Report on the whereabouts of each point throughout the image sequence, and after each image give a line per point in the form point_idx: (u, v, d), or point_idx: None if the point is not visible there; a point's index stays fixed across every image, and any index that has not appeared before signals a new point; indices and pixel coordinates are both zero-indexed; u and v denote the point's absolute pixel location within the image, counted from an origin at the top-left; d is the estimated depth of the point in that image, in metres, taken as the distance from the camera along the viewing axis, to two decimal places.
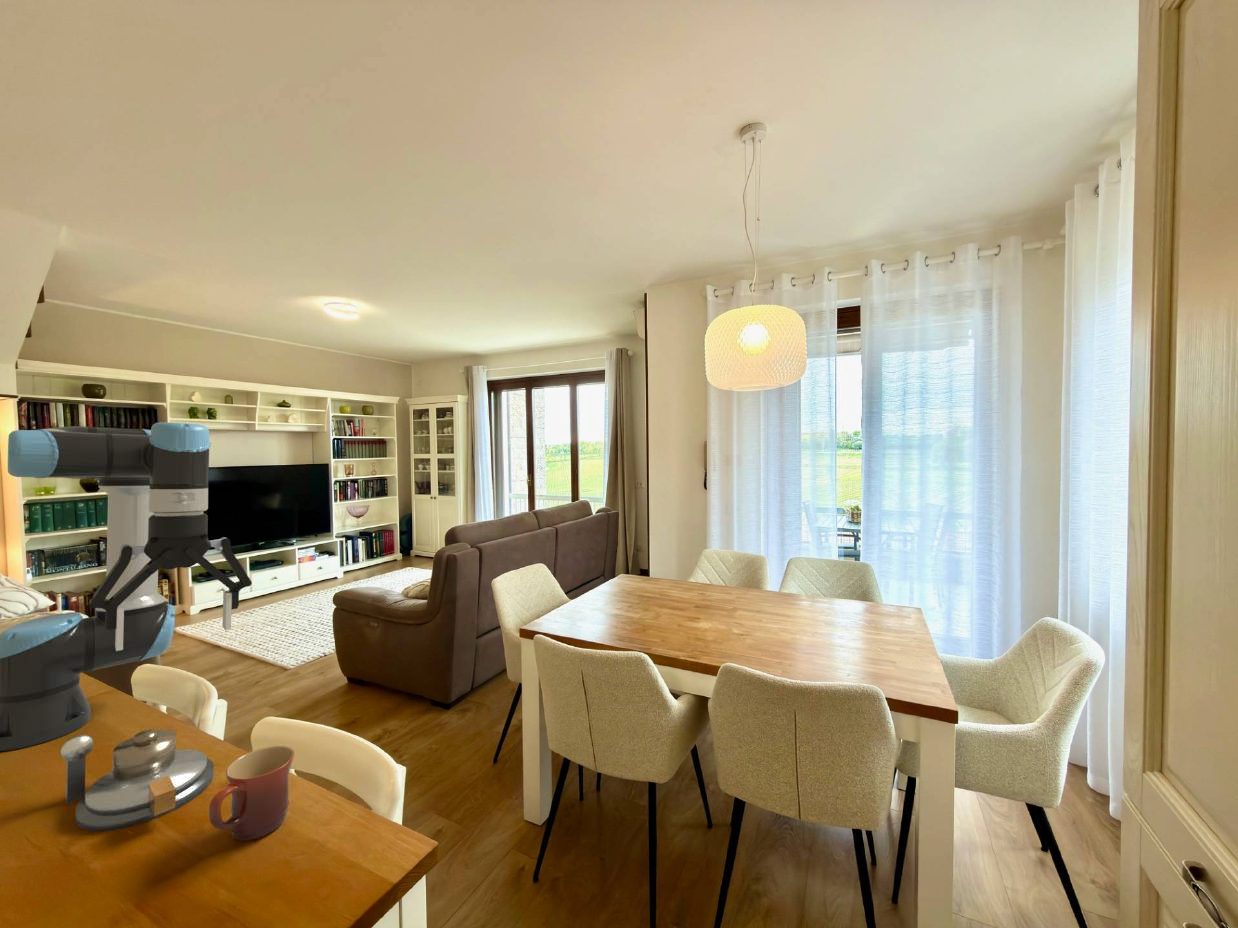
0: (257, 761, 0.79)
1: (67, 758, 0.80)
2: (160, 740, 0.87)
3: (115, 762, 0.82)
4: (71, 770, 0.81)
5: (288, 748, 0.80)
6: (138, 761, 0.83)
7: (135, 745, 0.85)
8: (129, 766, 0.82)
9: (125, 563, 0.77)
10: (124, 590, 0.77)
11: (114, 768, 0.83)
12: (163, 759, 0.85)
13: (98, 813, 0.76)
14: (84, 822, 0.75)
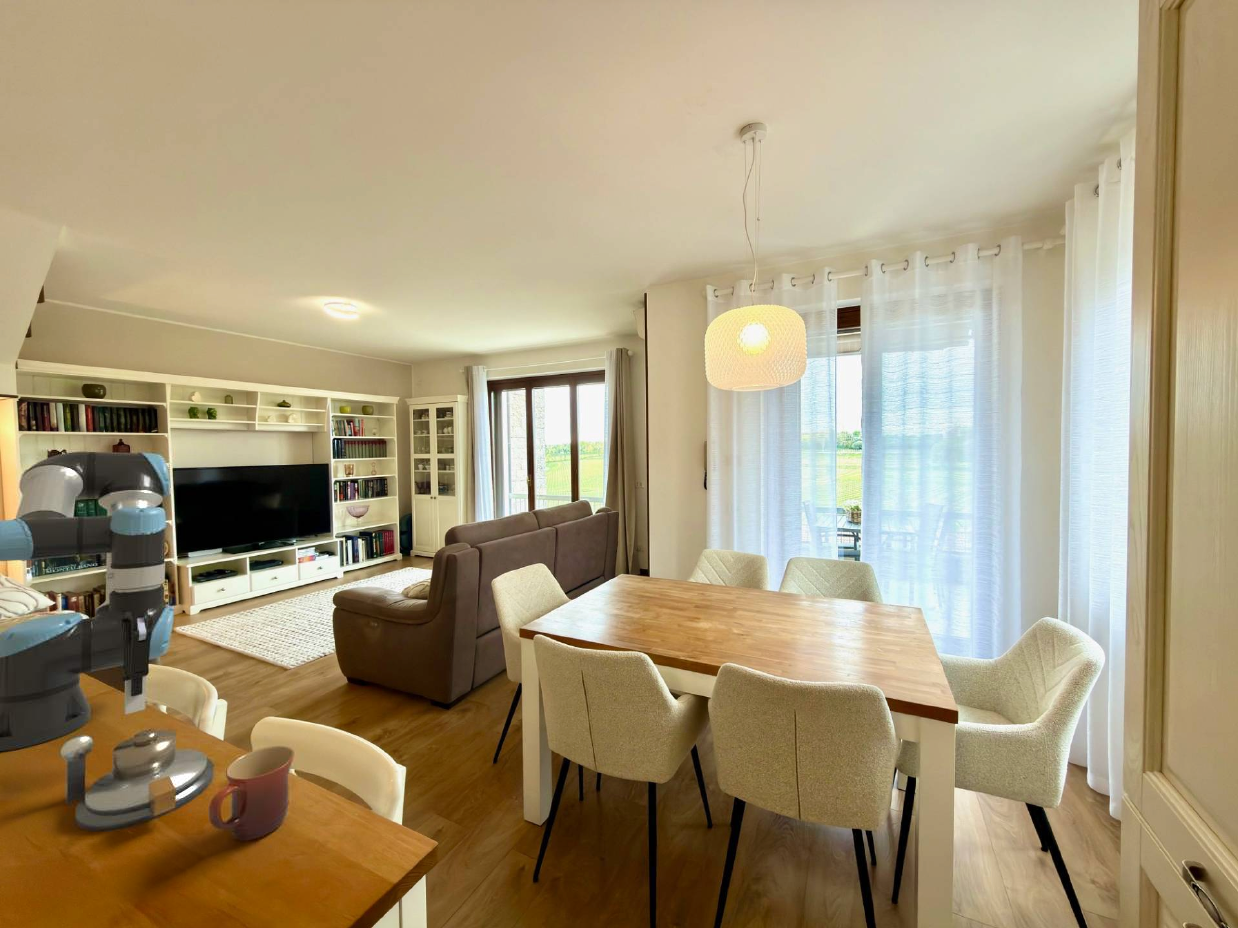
0: (257, 761, 0.79)
1: (67, 758, 0.80)
2: (160, 740, 0.87)
3: (115, 762, 0.82)
4: (71, 770, 0.81)
5: (288, 748, 0.80)
6: (138, 761, 0.83)
7: (135, 745, 0.85)
8: (129, 766, 0.82)
9: None
10: (126, 659, 0.93)
11: (114, 768, 0.83)
12: (163, 759, 0.85)
13: (98, 813, 0.76)
14: (84, 822, 0.75)
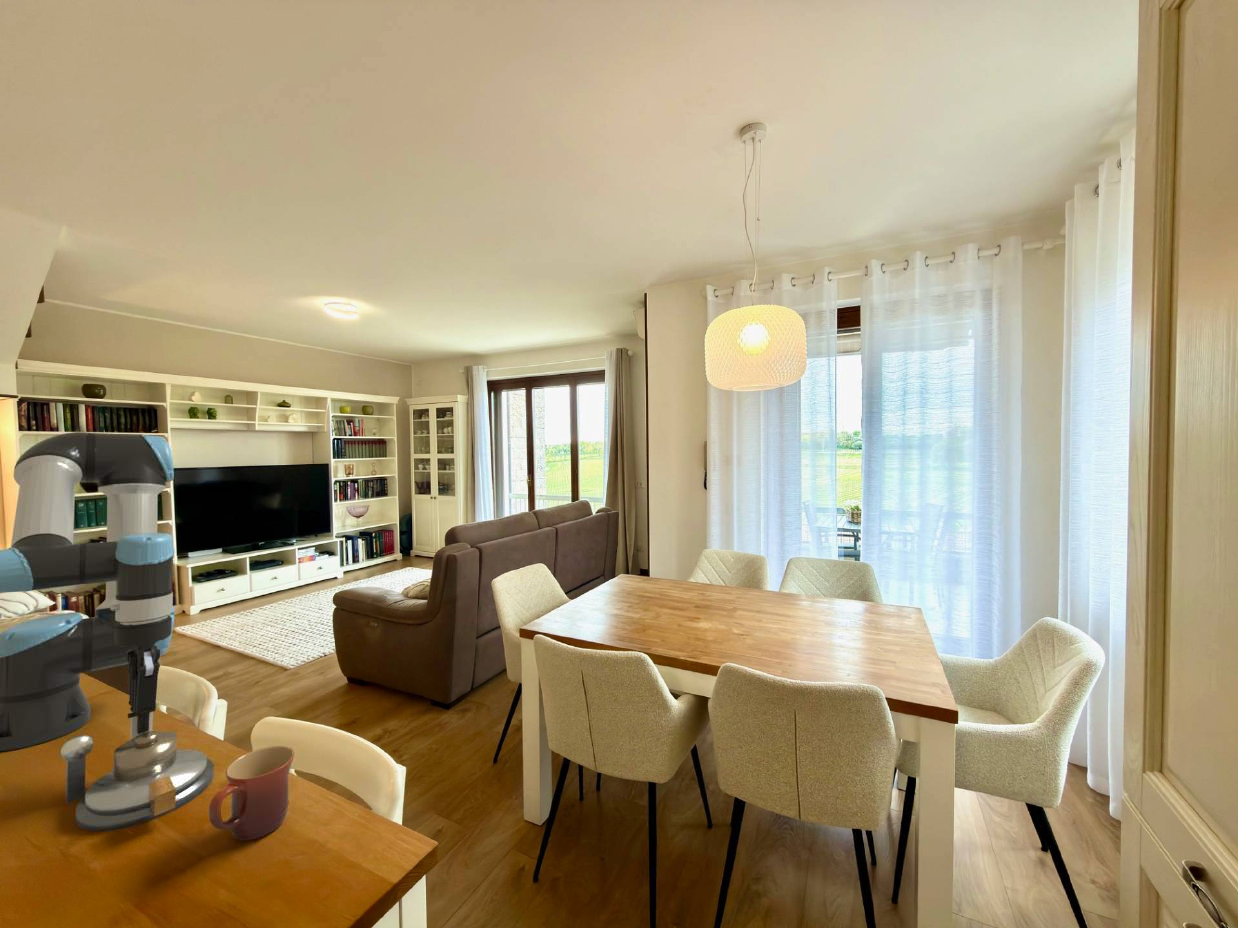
0: (257, 761, 0.79)
1: (67, 758, 0.80)
2: (161, 742, 0.86)
3: (116, 764, 0.82)
4: (71, 770, 0.81)
5: (288, 748, 0.80)
6: (138, 763, 0.82)
7: (136, 747, 0.84)
8: (130, 768, 0.82)
9: None
10: (131, 693, 0.89)
11: (115, 770, 0.82)
12: (164, 761, 0.85)
13: (98, 813, 0.76)
14: (84, 822, 0.75)
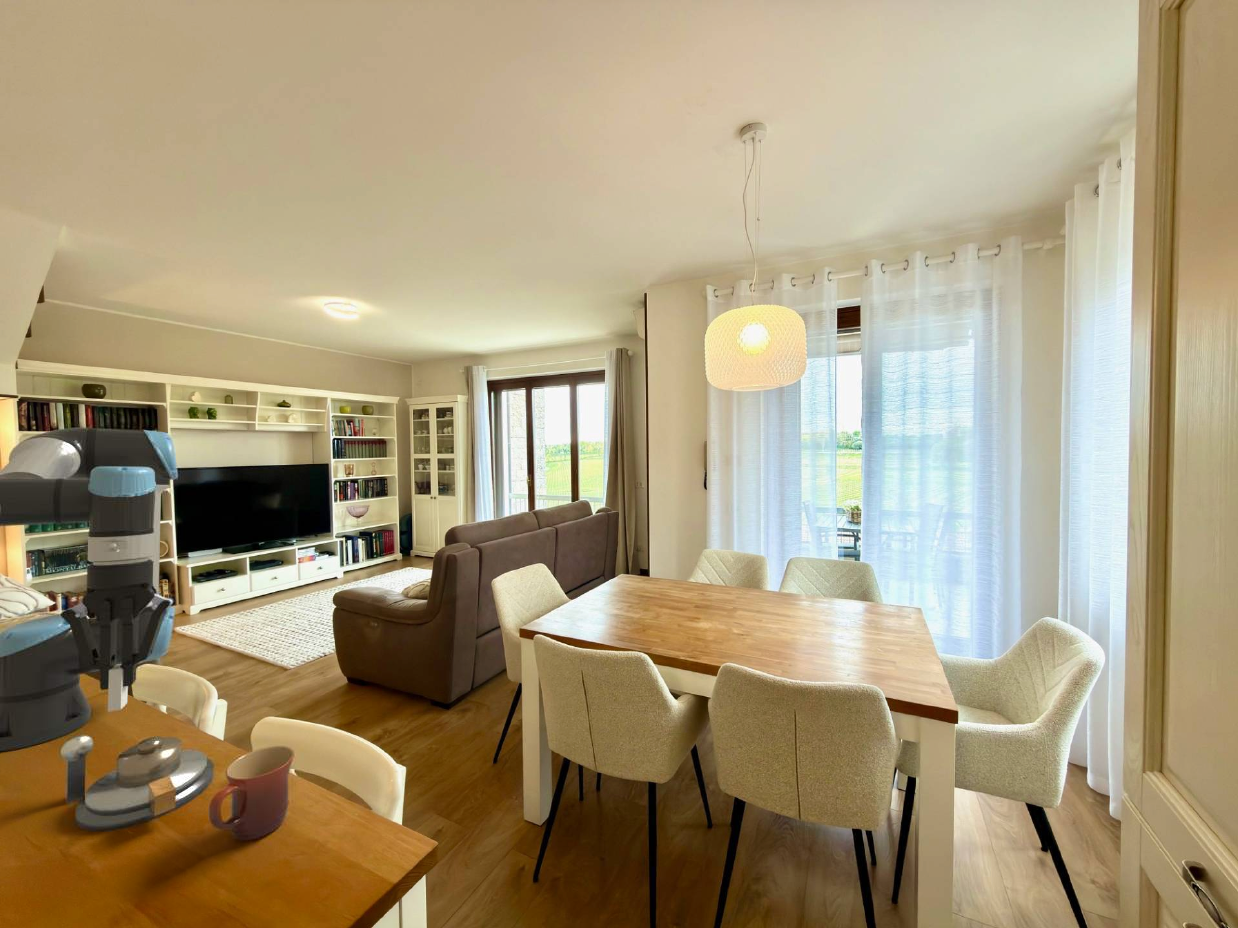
0: (257, 761, 0.79)
1: (67, 758, 0.80)
2: (165, 748, 0.84)
3: (119, 771, 0.80)
4: (71, 770, 0.81)
5: (288, 748, 0.80)
6: (142, 770, 0.81)
7: (139, 753, 0.82)
8: (133, 775, 0.80)
9: (77, 624, 0.75)
10: (101, 650, 0.77)
11: (118, 777, 0.80)
12: (168, 768, 0.83)
13: (98, 813, 0.76)
14: (84, 822, 0.75)
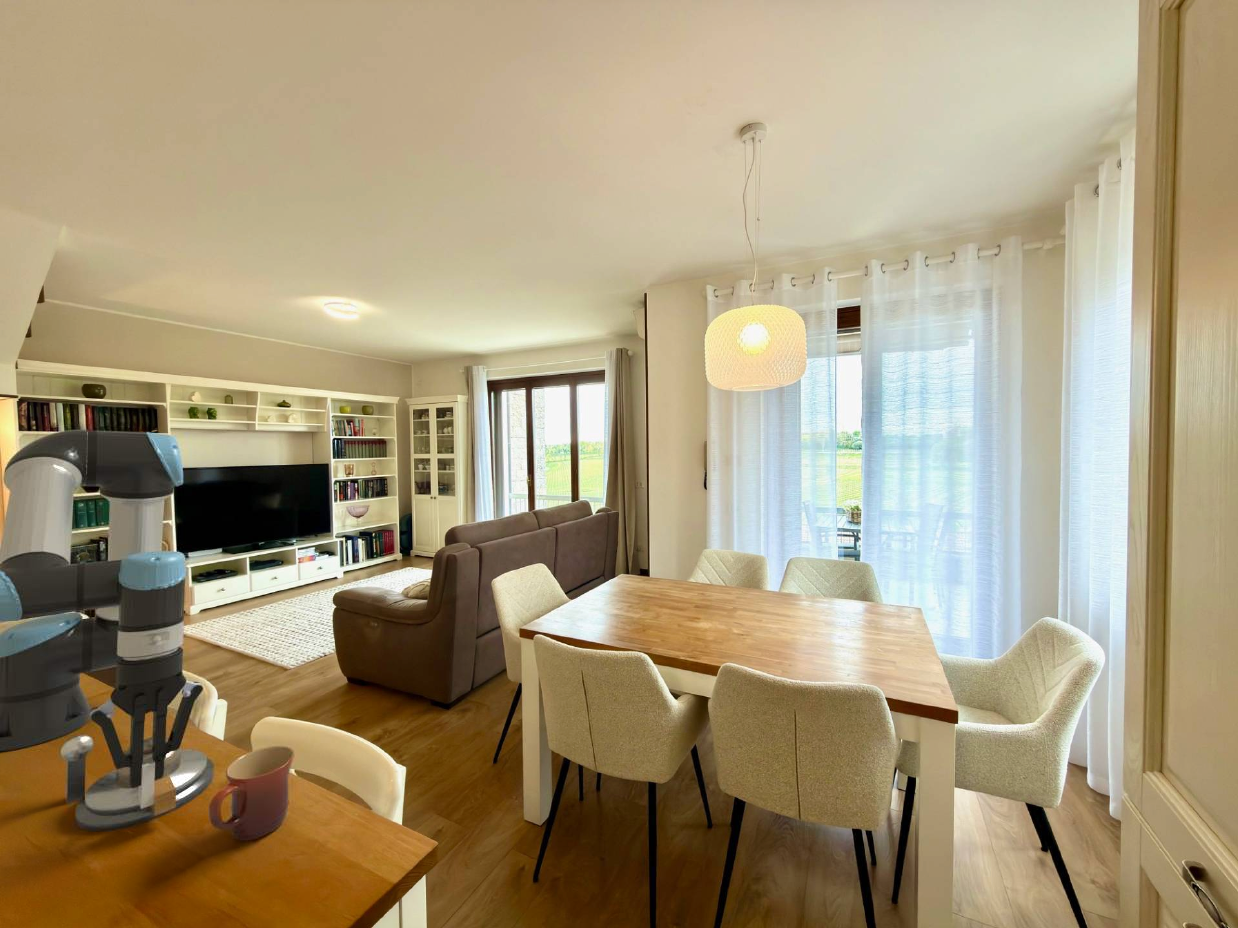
0: (257, 761, 0.79)
1: (67, 758, 0.80)
2: None
3: (119, 771, 0.80)
4: (71, 770, 0.81)
5: (288, 748, 0.80)
6: None
7: None
8: None
9: (109, 724, 0.72)
10: (134, 747, 0.74)
11: (118, 777, 0.80)
12: (168, 768, 0.83)
13: (98, 813, 0.76)
14: (84, 822, 0.75)
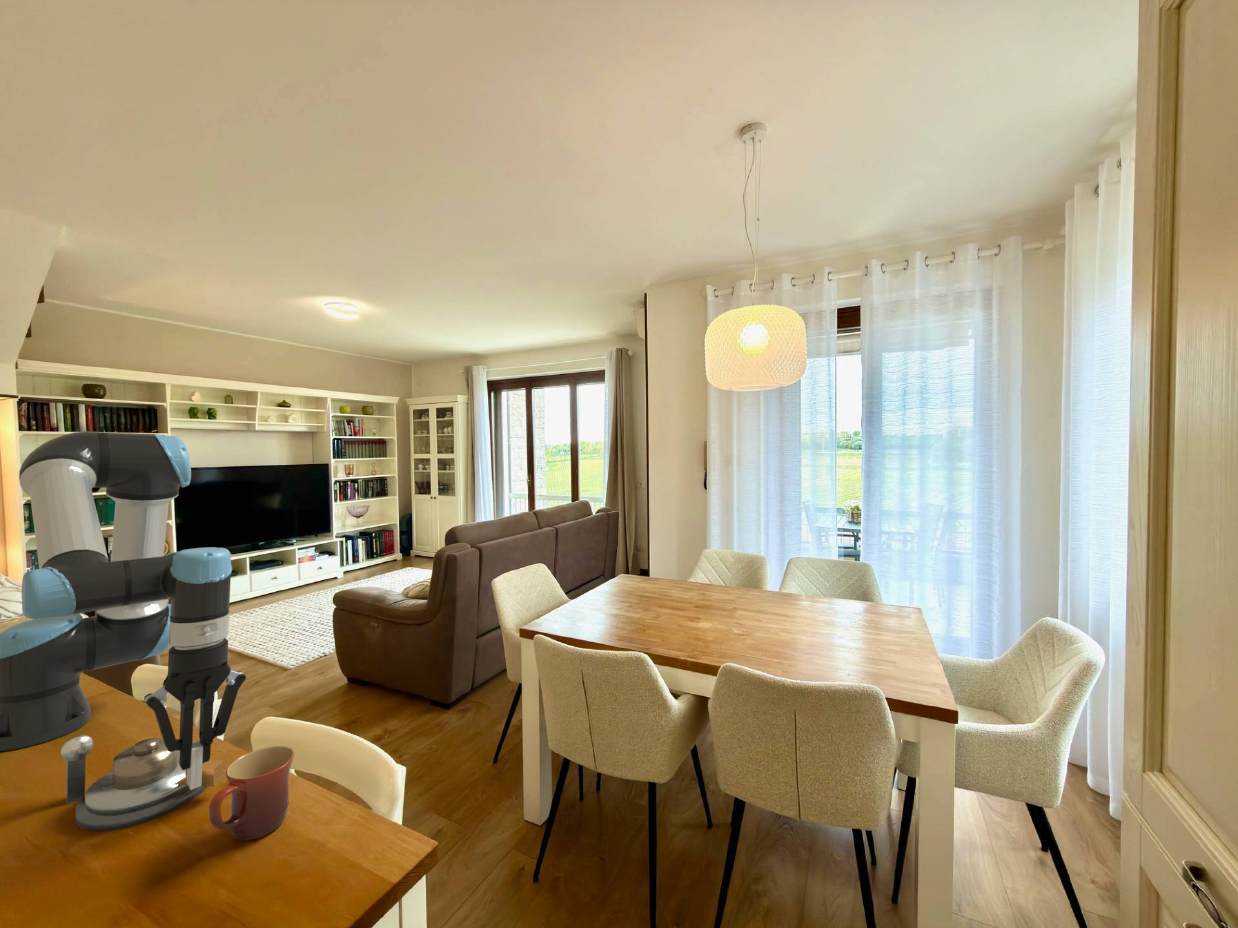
0: (257, 761, 0.79)
1: (67, 758, 0.80)
2: (164, 745, 0.85)
3: (128, 773, 0.80)
4: (71, 770, 0.81)
5: (288, 748, 0.80)
6: (159, 765, 0.82)
7: (141, 754, 0.82)
8: (150, 771, 0.81)
9: (162, 710, 0.76)
10: (184, 732, 0.78)
11: (126, 780, 0.80)
12: (175, 761, 0.85)
13: (133, 809, 0.77)
14: (84, 822, 0.75)
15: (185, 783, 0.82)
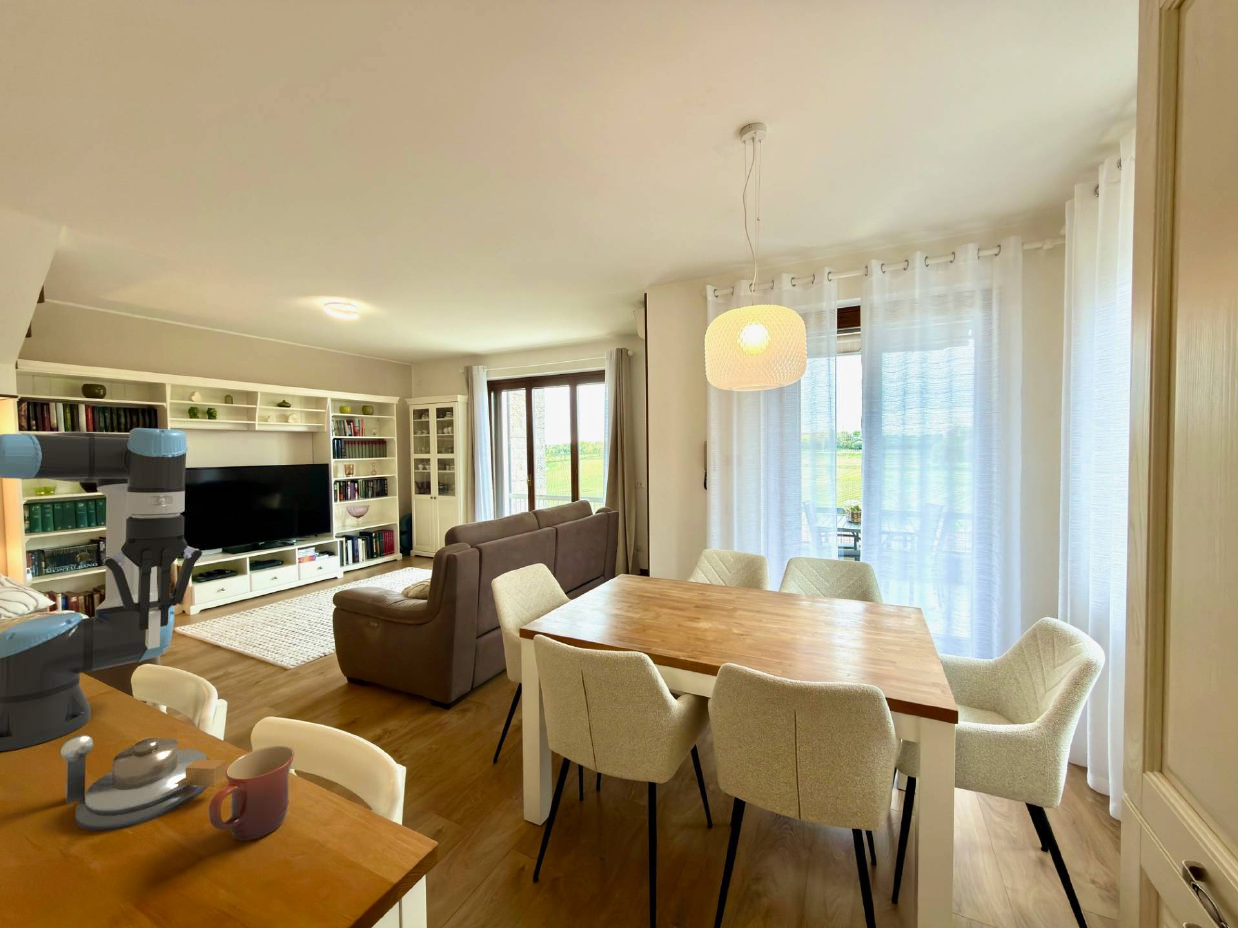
0: (257, 761, 0.79)
1: (67, 758, 0.80)
2: (164, 745, 0.85)
3: (128, 773, 0.80)
4: (71, 770, 0.81)
5: (288, 748, 0.80)
6: (159, 765, 0.82)
7: (141, 754, 0.82)
8: (150, 771, 0.81)
9: (120, 571, 0.82)
10: (141, 595, 0.84)
11: (127, 780, 0.80)
12: (175, 761, 0.85)
13: (133, 809, 0.77)
14: (84, 822, 0.75)
15: (185, 783, 0.82)
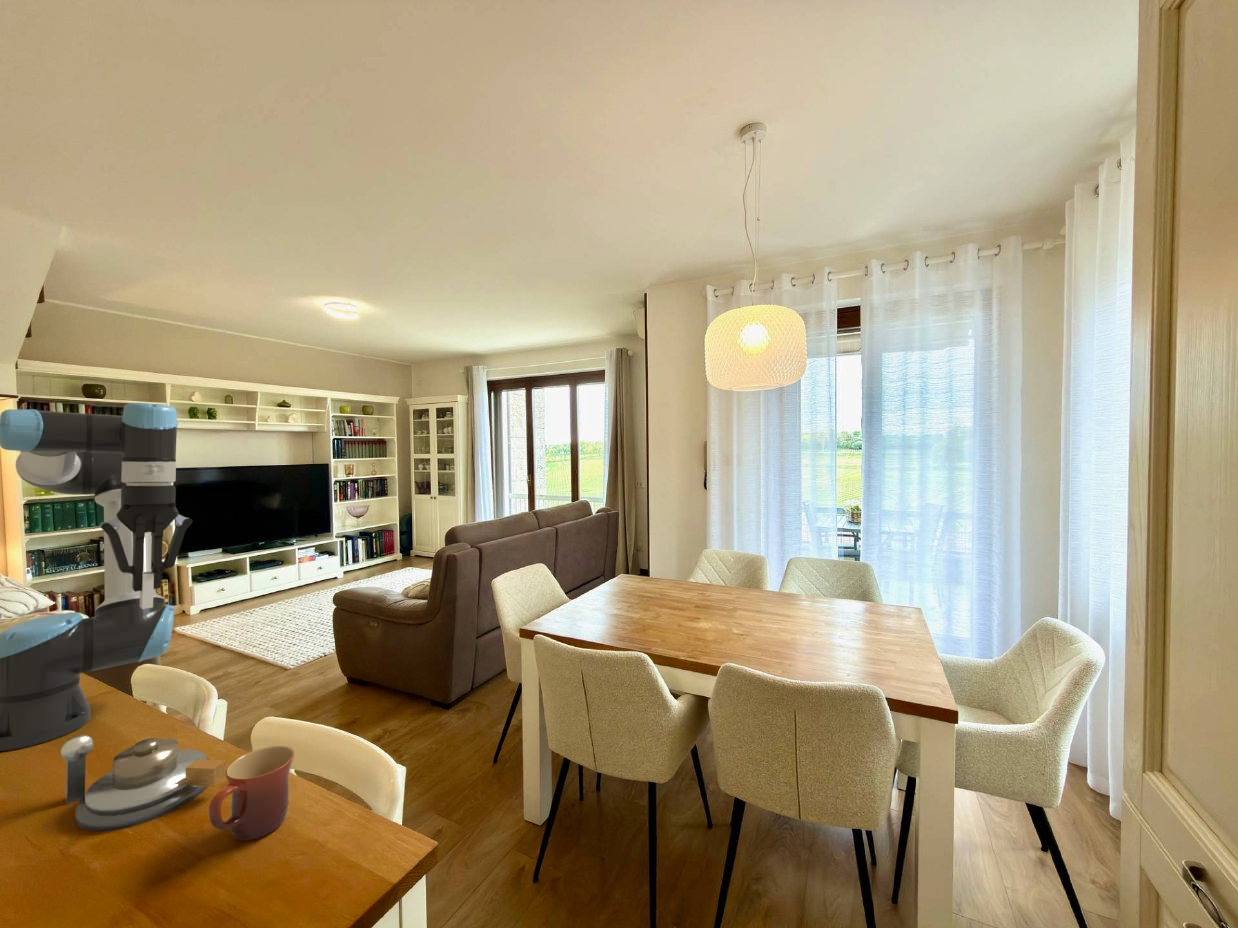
0: (257, 761, 0.79)
1: (67, 758, 0.80)
2: (164, 745, 0.85)
3: (128, 773, 0.80)
4: (71, 770, 0.81)
5: (288, 748, 0.80)
6: (159, 765, 0.82)
7: (141, 754, 0.82)
8: (150, 771, 0.81)
9: (115, 535, 0.89)
10: (136, 558, 0.91)
11: (127, 780, 0.80)
12: (175, 761, 0.85)
13: (133, 809, 0.77)
14: (84, 822, 0.75)
15: (185, 783, 0.82)
